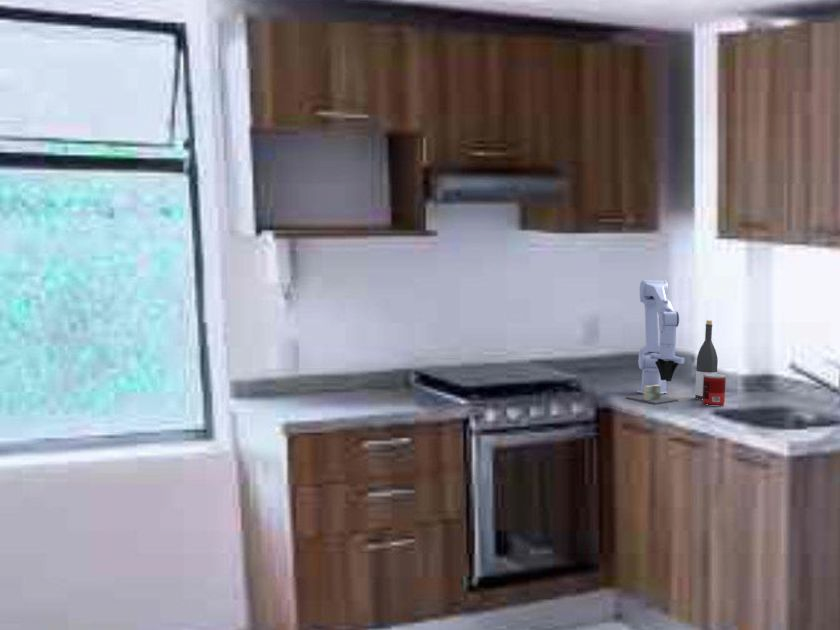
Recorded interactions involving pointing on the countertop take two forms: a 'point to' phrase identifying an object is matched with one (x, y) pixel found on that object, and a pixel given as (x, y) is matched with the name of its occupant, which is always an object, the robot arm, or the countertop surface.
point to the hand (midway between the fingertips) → (665, 380)
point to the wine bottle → (705, 360)
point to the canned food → (714, 389)
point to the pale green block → (652, 392)
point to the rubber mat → (654, 401)
